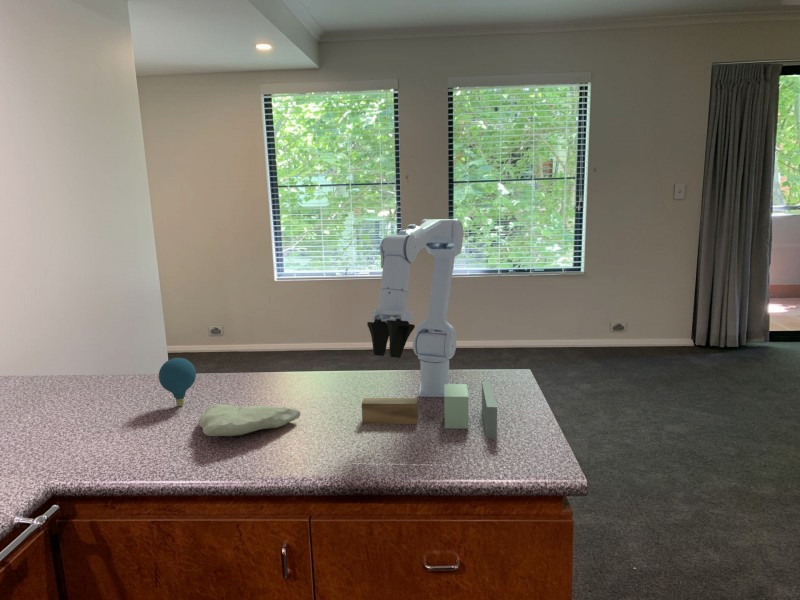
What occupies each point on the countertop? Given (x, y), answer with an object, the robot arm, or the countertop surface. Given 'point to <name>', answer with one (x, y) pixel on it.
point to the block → (456, 406)
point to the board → (489, 410)
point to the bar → (389, 411)
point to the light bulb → (177, 377)
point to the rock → (244, 419)
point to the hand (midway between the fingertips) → (386, 356)
